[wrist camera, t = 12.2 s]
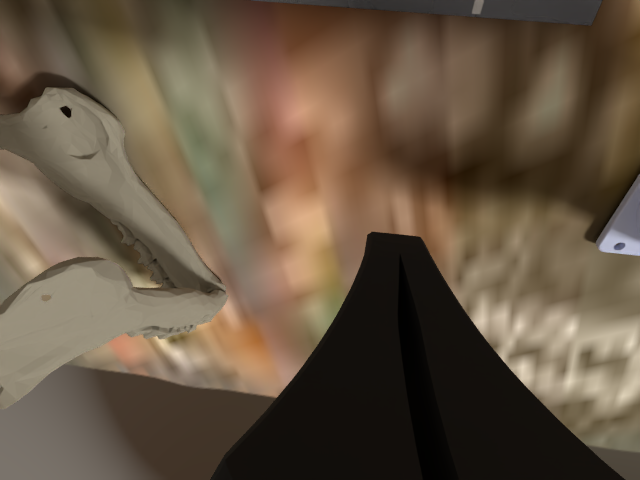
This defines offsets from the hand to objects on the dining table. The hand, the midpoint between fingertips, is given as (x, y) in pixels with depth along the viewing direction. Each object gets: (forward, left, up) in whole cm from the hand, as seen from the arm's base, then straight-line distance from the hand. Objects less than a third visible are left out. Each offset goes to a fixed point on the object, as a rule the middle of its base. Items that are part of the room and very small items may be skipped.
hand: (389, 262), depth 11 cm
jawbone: (+12, +7, -10) cm, 17 cm away
